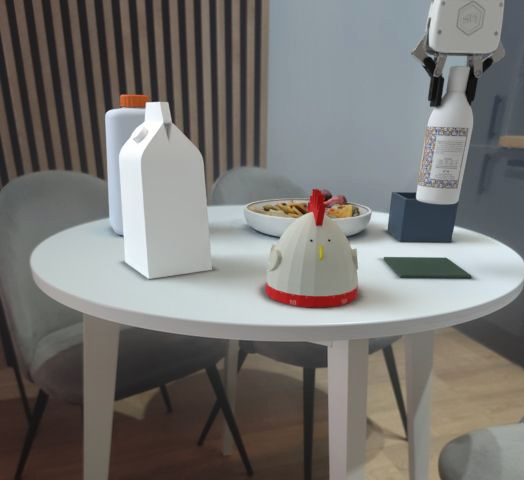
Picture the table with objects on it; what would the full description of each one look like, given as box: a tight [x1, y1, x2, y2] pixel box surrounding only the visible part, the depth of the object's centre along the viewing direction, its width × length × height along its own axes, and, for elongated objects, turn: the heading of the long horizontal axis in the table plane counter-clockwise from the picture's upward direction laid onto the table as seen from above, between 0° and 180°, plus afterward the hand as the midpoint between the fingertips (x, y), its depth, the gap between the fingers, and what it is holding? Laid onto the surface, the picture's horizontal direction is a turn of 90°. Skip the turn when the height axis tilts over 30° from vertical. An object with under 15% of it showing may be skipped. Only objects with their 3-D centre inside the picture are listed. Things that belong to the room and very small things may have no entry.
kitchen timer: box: [265, 188, 359, 308], centre depth 73 cm, size 14×14×15 cm
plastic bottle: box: [104, 94, 150, 237], centre depth 110 cm, size 15×15×28 cm
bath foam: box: [416, 65, 474, 204], centre depth 80 cm, size 7×7×20 cm
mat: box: [383, 256, 472, 279], centre depth 89 cm, size 12×12×1 cm
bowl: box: [243, 188, 372, 238], centre depth 118 cm, size 30×30×8 cm
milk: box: [119, 101, 213, 280], centre depth 83 cm, size 12×12×26 cm
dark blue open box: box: [386, 191, 460, 243], centre depth 112 cm, size 11×11×9 cm
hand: (449, 105), depth 78 cm, fingers closed on bath foam, 4 cm apart
